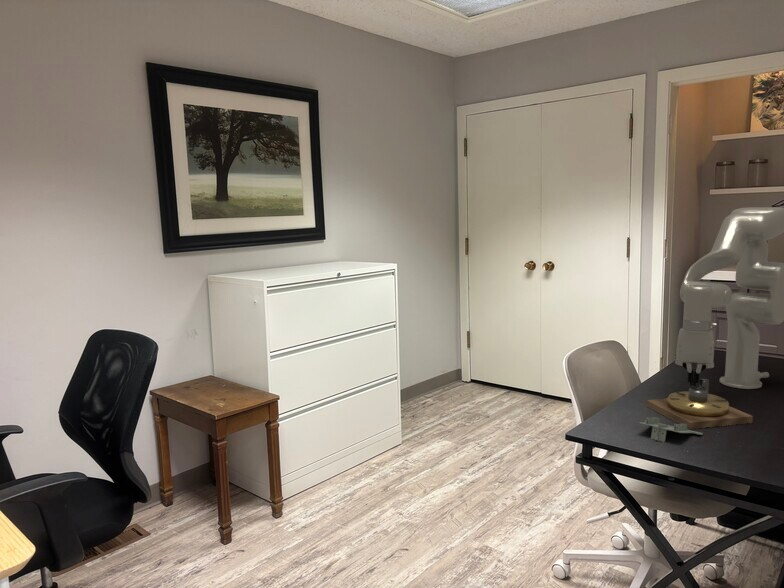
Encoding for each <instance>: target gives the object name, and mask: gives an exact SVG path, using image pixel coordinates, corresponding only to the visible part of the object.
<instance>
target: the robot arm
mask: <svg viewBox="0 0 784 588" xmlns="http://www.w3.org/2000/svg"><path fill="white" fill-rule="evenodd" d="M782 234H784V207H779V206H778V207H777V206H776V207H775V206H774V207H773V206H771V207H769V206H768V207H764V206H763V207H761V206H760V207H758V206H755V207H754V206H751V207H739V208H736V209H734V210H732V211H731V213H730V214H728V215H727V216H726V217H725V218H724V219H723V221H722V223H721V226H720V228H719V231H718V233H717V235H716V238H715V241H714V242H713V244H712V245H713V246H712V248H711V250H710V252H708V253H707V254H705V255H703V256H702V257H701V258H699V259H698V260H697V261H695V262H694V263H692V264H691V266H690V267H689V268H688V269H687V271H686V273H685V276H684V278H683V280H682V282H681V287H680V289H679V297H680V300H681V301H682V302H683V316H682V317H683V318H682V327H681V328H679V332H678V335H677V342H676V343H677V344H676V355H675V356H676V358H675V361H674V364H675V365H676V366H677V365H678V366H681V367H683V369H685V370H686V371H687V373H688V374H687V382H688V383H689V386H692V387H697V384H700V374H701V372H703V371H704V370H705V369H713V368H714V367H715V363H714V357H715V335H714V331H713V330H711V329H713V328H717V323H714V322H712V309H713V308H715V309H716V308H717V309H721V308H725V312H726V319H727V336H726V351H725V354H726V355H725V367H724V369H725V370H724V371H725V372H724V376H720V378H719V383H721V384H722V385H724V386H726V387H731V388H736V389H743V390H754V389H755V390H756V389H760V388H762V386H763V382H762V381H761V379H766V378H769V377H770V374H769V372H768V371H762V372H760V371H759V367H758V366H759V354H760V353H759V351H760V341H761V339H760V338H761V337H760V336H761V335H760V331H759V329H758V328H757V325H755V323H757V324H758V323H759V324H764V325H765V324H767V325H775V326H776V325H780V324H782V323H783V322H784V262H780V261H779V262H777V261H768V256H769V249H770V248H769V244H768V242H767V241H769V240H770V241H771V240H772V239H775V238H776V237H778V236H780V235H782ZM734 265H736V270H735V283H736V286H737V287H740V288H742V289H745V290H746V289H747V290H749V289H750V290H757V291H768V292H769V293H770V294H765V293H764V294H763V293H762V294H761V293H754V292H753V293H752V292H734V293H733V291H732V289H731V287H730V286H728V285H727V284H724V283H721V282H720V283H719V282H710V281H700V280H702V279H703V278H704V277H705V276H707V275H708V274H710V273H713V272H715V271H718V270H722V269H726V268H729V267H731V266H734ZM692 364H696V368H695V369H693V366H692Z"/></svg>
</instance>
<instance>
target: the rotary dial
mask: <svg viewBox="0 0 784 588" xmlns="http://www.w3.org/2000/svg"><path fill="white" fill-rule="evenodd" d="M709 385H710V379H707V378H699V387H697V386H693V387H690V388H688V390H687V391H675V392H672V393H670V394H669V395H668V397H667V398H668V406H669V407H670V408H672V409H674V410H676V411H679V412H682V413H686V414H691V415H697V416H720V415H724V414H726V413H728V409H729V406H730V403H729V401H728V400H727V399H725V398H723V397H721V396H718V395H716V394H712V393H709V389H710V388H709V387H710V386H709Z"/></svg>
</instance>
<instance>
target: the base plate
mask: <svg viewBox="0 0 784 588" xmlns="http://www.w3.org/2000/svg"><path fill="white" fill-rule="evenodd" d="M645 406H646V408H648V409H651V410H652V411H653V412H655V413H658V414H659V415H662V416H663V415H664V416H663V417H666V418H668V419H669V420H671V421H673V422H675V423H676V424H678V425H679V424H687V430H691V431H692V430H698V428H701V429H706V428H705V427H710V428H716V427H715V426H720V427H727V426H728V425H729V426H736V424H738V425H747V423H748V424H753V421H754V420H753V418H754V416H753V415H751V414H749V413H746V412H744V411H741V410H739V409H737V408H736V407H732V406H730V405H729V409H728V413H726V414H724V415H720V416H697V415H691V414H686V413H682V412H679V411H676V410H674V409H672V408H670V407H669V406H668V397H667V398H657V399H647V400H646V405H645ZM726 425H727V426H726ZM729 426H728V427H729Z"/></svg>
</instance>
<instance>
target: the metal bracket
mask: <svg viewBox="0 0 784 588" xmlns="http://www.w3.org/2000/svg"><path fill="white" fill-rule="evenodd" d="M638 423H639V424H641V425H645V426H650V427H651V435H650V440H652V439H653V440H654V441H656V440H657V441H656V442H660V441H661V443H664V442H665V443H666V437H667V432H668V431H669V432H670V431H671V432H675V433H679V434H696V435H700V436H703V434H704V433H703V432H699V431H694V430H692V429H691V430H690V429H688V428H687V424H679V423H674V425H671V424H670V425H669V424H664V423H661V418H660V417H654V416H653V417H646V419H645V420H644V422H640V421H639V422H638Z"/></svg>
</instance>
